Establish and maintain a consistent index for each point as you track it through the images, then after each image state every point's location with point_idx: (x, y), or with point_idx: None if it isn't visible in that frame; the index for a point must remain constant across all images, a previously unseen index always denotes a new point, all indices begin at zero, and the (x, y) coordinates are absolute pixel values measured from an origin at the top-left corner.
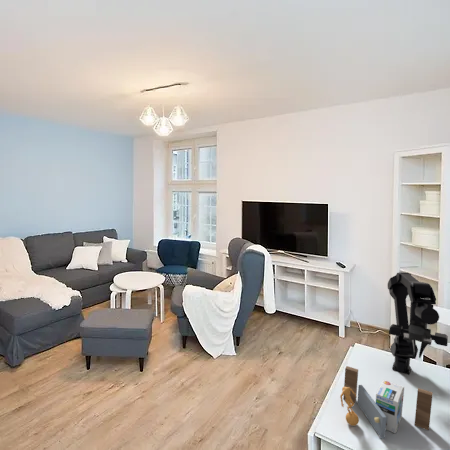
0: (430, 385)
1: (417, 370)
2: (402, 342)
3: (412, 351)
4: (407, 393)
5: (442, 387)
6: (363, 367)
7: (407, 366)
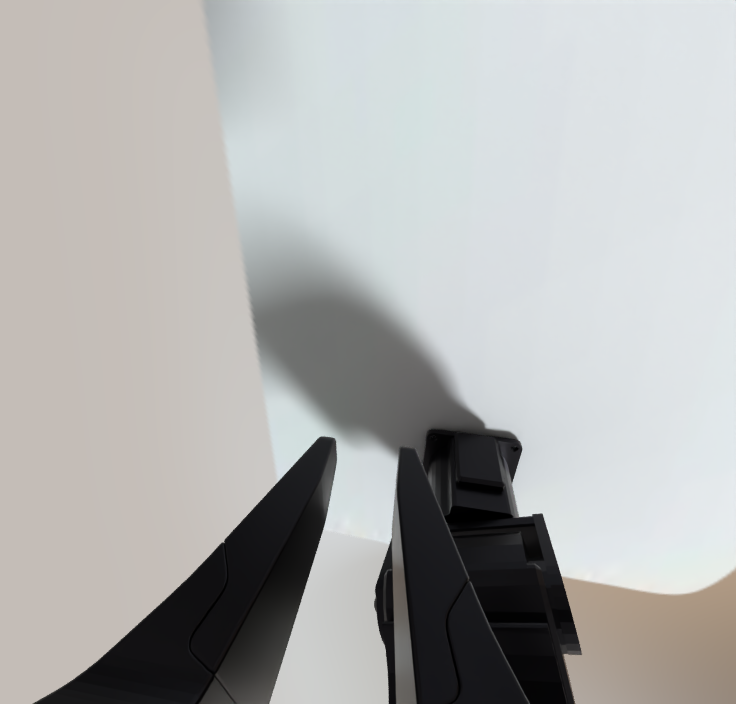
0: (325, 376)
1: (389, 478)
2: (514, 665)
3: (421, 509)
4: (444, 216)
5: (274, 385)
6: (729, 395)
7: (439, 471)
